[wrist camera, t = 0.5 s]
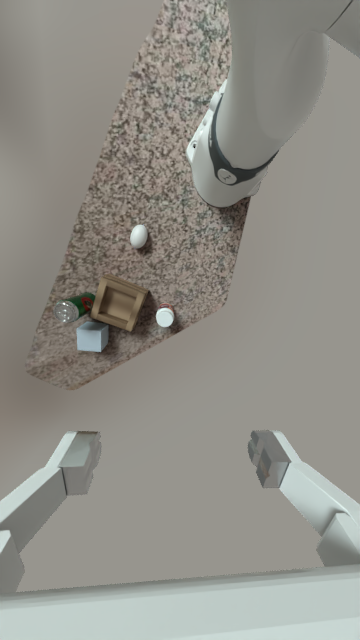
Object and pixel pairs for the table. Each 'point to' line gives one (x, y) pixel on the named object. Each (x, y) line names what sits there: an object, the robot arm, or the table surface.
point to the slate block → (92, 336)
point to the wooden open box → (118, 302)
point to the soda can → (74, 307)
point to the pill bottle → (165, 315)
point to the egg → (138, 236)
